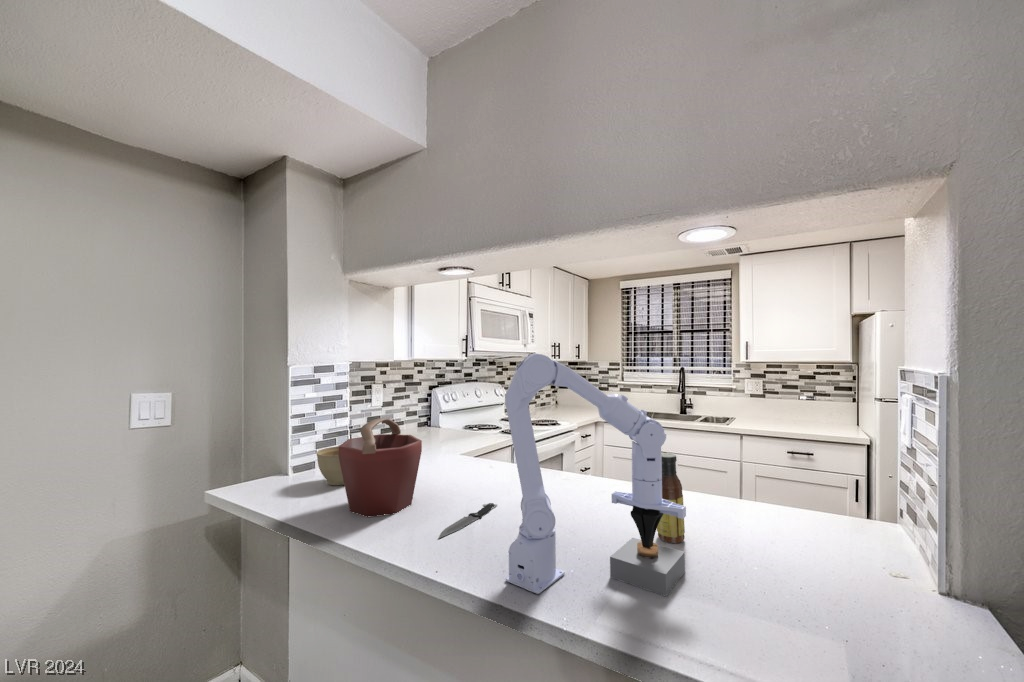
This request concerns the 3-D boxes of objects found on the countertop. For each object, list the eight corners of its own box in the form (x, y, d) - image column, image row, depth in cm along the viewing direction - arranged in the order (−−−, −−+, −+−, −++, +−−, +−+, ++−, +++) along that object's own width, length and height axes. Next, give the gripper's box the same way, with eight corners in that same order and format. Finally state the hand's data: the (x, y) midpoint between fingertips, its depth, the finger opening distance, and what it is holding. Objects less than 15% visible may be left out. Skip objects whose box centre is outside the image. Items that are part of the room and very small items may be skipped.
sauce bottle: (675, 532, 107) (674, 450, 107) (690, 543, 101) (689, 457, 101) (650, 534, 106) (649, 452, 106) (664, 546, 99) (662, 458, 100)
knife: (427, 537, 105) (443, 542, 103) (427, 533, 105) (443, 538, 103) (487, 504, 128) (501, 507, 125) (487, 501, 128) (501, 504, 125)
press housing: (666, 596, 79) (665, 574, 79) (610, 577, 86) (610, 556, 86) (685, 571, 88) (684, 551, 88) (632, 556, 95) (632, 537, 95)
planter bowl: (375, 481, 150) (375, 449, 150) (329, 492, 138) (329, 458, 139) (353, 472, 161) (353, 442, 161) (308, 482, 149) (308, 450, 150)
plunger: (654, 580, 84) (653, 552, 84) (634, 574, 87) (634, 546, 87) (661, 572, 87) (661, 544, 87) (642, 566, 90) (641, 539, 90)
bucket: (384, 527, 111) (384, 428, 112) (316, 516, 119) (316, 424, 119) (434, 496, 134) (433, 415, 135) (374, 489, 142) (374, 411, 142)
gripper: (690, 479, 86) (691, 548, 86) (621, 467, 95) (622, 530, 95) (678, 488, 80) (680, 562, 80) (606, 474, 89) (607, 541, 89)
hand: (647, 545), depth 87 cm, fingers closed, pressing on plunger
